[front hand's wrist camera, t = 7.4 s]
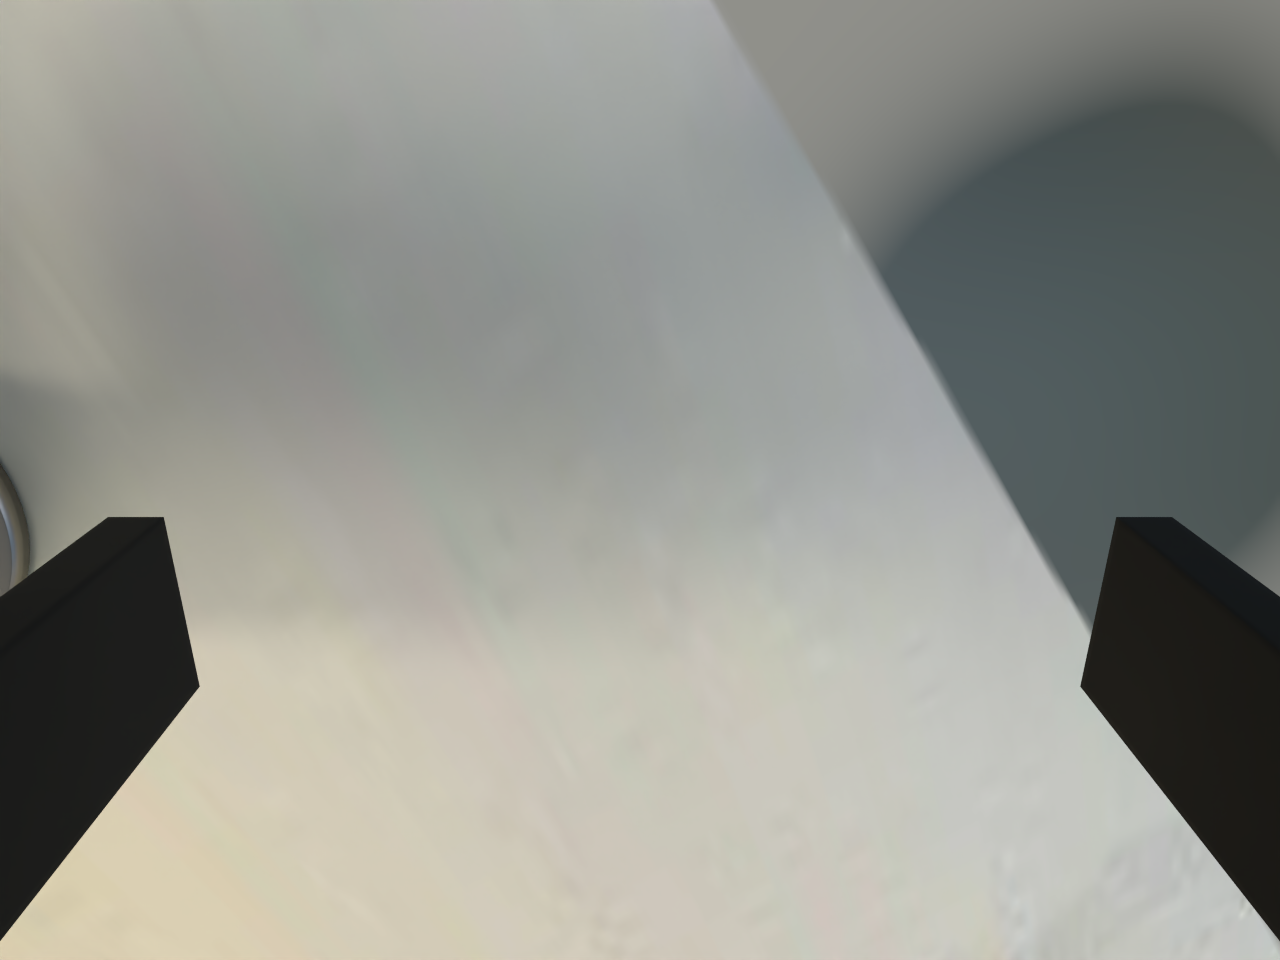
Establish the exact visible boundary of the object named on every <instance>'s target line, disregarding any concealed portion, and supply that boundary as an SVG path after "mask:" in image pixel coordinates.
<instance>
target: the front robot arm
mask: <svg viewBox="0 0 1280 960" xmlns="http://www.w3.org/2000/svg"><path fill="white" fill-rule="evenodd" d="M29 560H30V544H29V533H28V528H27V523H26V519H25V515H24V512H23V509H22V505H21V503H20V501H19V498H18V496H17V493H16V491H15V489H14V487H13V485H12V483H11V481H10V479H9V477H8V476H7V474H6V472H5V471H4V469H3V468H2V466H1V464H0V941H1V939H2V938H3V937H4V936H5V934H6V933H7V932H8V930H9V929H10V928H11V927H12V925H13V924H14V923H15V921H16V920H17V919H18V918H19V916H20V915H21V914H22V913H23V911H24V910H25V909H26V907H27V906H28V905H29V904H30V902H31V901H32V900H33V898H34V897H35V896H36V895H37V893H38V892H39V891H40V890H41V888H42V887H43V886H44V884H45V883H46V882H47V881H48V879H49V878H50V877H51V876H52V874H53V873H54V872H55V870H56V869H57V868H58V867H59V865H60V864H61V863H62V861H63V860H64V859H65V858H66V856H67V855H68V854H69V853H70V851H71V850H72V849H73V847H74V846H75V845H76V844H77V842H78V841H79V840H80V838H81V837H82V836H83V835H84V833H85V832H86V831H87V830H88V828H89V827H90V826H91V824H92V823H93V822H94V821H95V819H96V818H97V817H98V816H99V814H100V813H101V812H102V810H103V809H104V808H105V807H106V805H107V804H108V803H109V801H110V800H111V799H112V798H113V796H114V795H115V794H116V793H117V791H118V790H119V789H120V787H121V786H122V785H123V784H124V782H125V781H126V780H127V778H128V777H129V776H130V775H131V773H132V772H133V771H134V770H135V768H136V767H137V766H138V764H139V763H140V762H141V761H142V759H143V758H144V757H145V756H146V754H147V753H148V752H149V750H150V749H151V748H152V747H153V745H154V744H155V743H156V741H157V740H158V739H159V738H160V736H161V735H162V734H163V733H164V731H165V730H166V729H167V727H168V726H169V725H170V724H171V722H172V721H173V720H174V719H175V717H176V716H177V715H178V713H179V712H180V711H181V710H182V708H183V707H184V706H185V704H186V703H187V702H188V701H189V699H190V698H191V697H192V696H193V694H194V693H195V692H196V690H197V689H198V688H199V687H200V686H199V681H198V677H197V672H196V667H195V662H194V658H193V653H192V648H191V644H190V639H189V634H188V629H187V625H186V620H185V615H184V611H183V606H182V601H181V597H180V592H179V587H178V582H177V578H176V573H175V568H174V564H173V559H172V554H171V549H170V545H169V540H168V535H167V531H166V526H165V521H164V517H108V518H106V519H105V520H104V521H102V522H101V523H100V524H98V525H97V526H95V527H94V528H93V529H91V530H90V531H89V532H87V533H86V534H85V535H83V536H82V537H81V538H79V539H78V540H76V541H75V542H74V543H72V544H71V545H70V546H68V547H67V548H66V549H64V550H63V551H62V552H60V553H59V554H58V555H56V556H55V557H53V558H52V559H51V560H49V561H48V562H47V563H45V564H44V565H43V566H41V567H40V568H39V569H37V570H36V571H35V572H33V573H32V574H30V575H29V576H28V577H27V575H28V568H29ZM1080 687H1081V688H1082V689H1083V690H1084V692H1085V693H1086V694H1087V696H1088V697H1089V698H1090V699H1091V701H1092V702H1093V703H1094V704H1095V706H1096V707H1097V708H1098V710H1099V711H1100V712H1101V713H1102V715H1103V716H1104V717H1105V719H1106V720H1107V721H1108V722H1109V724H1110V725H1111V726H1112V727H1113V729H1114V730H1115V731H1116V733H1117V734H1118V735H1119V736H1120V738H1121V739H1122V740H1123V741H1124V743H1125V744H1126V745H1127V747H1128V748H1129V749H1130V750H1131V752H1132V753H1133V754H1134V756H1135V757H1136V758H1137V759H1138V761H1139V762H1140V763H1141V764H1142V766H1143V767H1144V768H1145V770H1146V771H1147V772H1148V773H1149V775H1150V776H1151V777H1152V779H1153V780H1154V781H1155V782H1156V784H1157V785H1158V786H1159V787H1160V789H1161V790H1162V791H1163V793H1164V794H1165V795H1166V796H1167V798H1168V799H1169V800H1170V801H1171V803H1172V804H1173V805H1174V807H1175V808H1176V809H1177V810H1178V812H1179V813H1180V814H1181V816H1182V817H1183V818H1184V819H1185V821H1186V822H1187V823H1188V824H1189V826H1190V827H1191V828H1192V830H1193V831H1194V832H1195V833H1196V835H1197V836H1198V837H1199V838H1200V840H1201V841H1202V842H1203V844H1204V845H1205V846H1206V847H1207V849H1208V850H1209V851H1210V853H1211V854H1212V855H1213V856H1214V858H1215V859H1216V860H1217V861H1218V863H1219V864H1220V865H1221V867H1222V868H1223V869H1224V870H1225V872H1226V873H1227V874H1228V876H1229V877H1230V878H1231V879H1232V881H1233V882H1234V883H1235V884H1236V886H1237V887H1238V888H1239V890H1240V891H1241V892H1242V893H1243V895H1244V896H1245V897H1246V898H1247V900H1248V901H1249V902H1250V904H1251V905H1252V906H1253V907H1254V909H1255V910H1256V911H1257V913H1258V914H1259V915H1260V916H1261V918H1262V919H1263V920H1264V921H1265V923H1266V924H1267V925H1268V927H1269V928H1270V929H1271V930H1272V932H1273V933H1274V934H1275V936H1276V937H1277V938H1278V939H1279V941H1280V597H1279V596H1278V595H1277V594H1275V593H1274V592H1273V591H1271V590H1270V589H1268V588H1267V587H1266V586H1264V585H1263V584H1262V583H1260V582H1259V581H1258V580H1256V579H1255V578H1253V577H1252V576H1251V575H1249V574H1248V573H1247V572H1245V571H1244V570H1243V569H1241V568H1240V567H1239V566H1237V565H1236V564H1235V563H1233V562H1232V561H1231V560H1229V559H1228V558H1227V557H1225V556H1224V555H1222V554H1221V553H1220V552H1218V551H1217V550H1216V549H1214V548H1213V547H1212V546H1210V545H1209V544H1208V543H1206V542H1205V541H1203V540H1202V539H1201V538H1199V537H1198V536H1197V535H1195V534H1194V533H1193V532H1191V531H1190V530H1189V529H1187V528H1186V527H1185V526H1183V525H1182V524H1180V523H1179V522H1178V521H1176V520H1175V519H1174V518H1172V517H1116V521H1115V526H1114V531H1113V535H1112V540H1111V545H1110V549H1109V554H1108V559H1107V564H1106V568H1105V573H1104V578H1103V582H1102V587H1101V592H1100V597H1099V601H1098V606H1097V611H1096V615H1095V620H1094V625H1093V629H1092V634H1091V639H1090V644H1089V648H1088V653H1087V658H1086V662H1085V667H1084V672H1083V677H1082V681H1081V686H1080Z"/></svg>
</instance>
